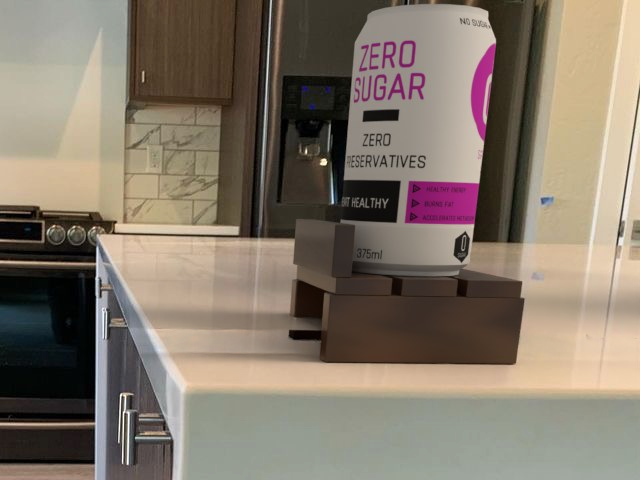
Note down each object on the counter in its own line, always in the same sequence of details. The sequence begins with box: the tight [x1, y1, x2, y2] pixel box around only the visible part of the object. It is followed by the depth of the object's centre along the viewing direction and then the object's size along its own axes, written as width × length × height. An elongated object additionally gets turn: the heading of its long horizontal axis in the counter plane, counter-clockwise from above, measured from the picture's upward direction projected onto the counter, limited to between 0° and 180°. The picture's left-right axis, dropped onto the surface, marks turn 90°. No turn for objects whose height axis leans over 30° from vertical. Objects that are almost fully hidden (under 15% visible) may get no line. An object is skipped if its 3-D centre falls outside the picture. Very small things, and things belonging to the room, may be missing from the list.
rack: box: [288, 218, 526, 365], centre depth 61 cm, size 12×10×8 cm
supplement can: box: [339, 3, 497, 277], centre depth 59 cm, size 8×8×15 cm
